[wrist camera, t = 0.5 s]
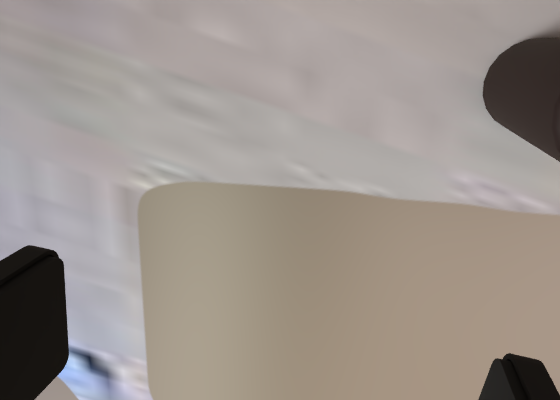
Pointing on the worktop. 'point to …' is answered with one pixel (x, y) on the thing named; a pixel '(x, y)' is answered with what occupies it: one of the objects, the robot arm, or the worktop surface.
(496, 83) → the vinegar
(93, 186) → the worktop surface
